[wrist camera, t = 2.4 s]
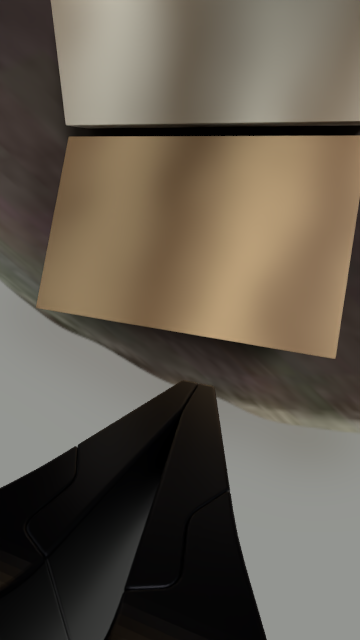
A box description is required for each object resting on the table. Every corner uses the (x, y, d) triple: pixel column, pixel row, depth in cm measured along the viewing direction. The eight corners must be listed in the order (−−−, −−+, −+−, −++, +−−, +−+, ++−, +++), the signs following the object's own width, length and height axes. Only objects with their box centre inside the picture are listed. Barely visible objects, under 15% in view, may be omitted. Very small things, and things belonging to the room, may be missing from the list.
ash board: (407, -68, 12) (425, -106, 10) (364, 125, 15) (372, 120, 13) (73, -17, 16) (46, -39, 14) (87, 128, 18) (65, 125, 17)
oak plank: (356, 162, 15) (368, 135, 13) (326, 357, 15) (335, 358, 13) (89, 158, 19) (68, 136, 17) (60, 312, 19) (35, 307, 17)
